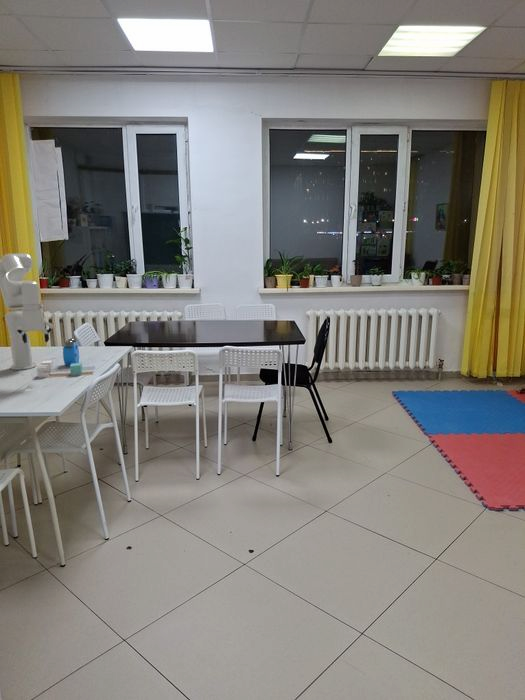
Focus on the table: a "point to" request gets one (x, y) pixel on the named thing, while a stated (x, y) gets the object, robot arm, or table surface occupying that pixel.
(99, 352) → the table surface
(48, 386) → the table surface
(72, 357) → the alarm clock
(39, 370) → the walnut strip
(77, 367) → the teal cube
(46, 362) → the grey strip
